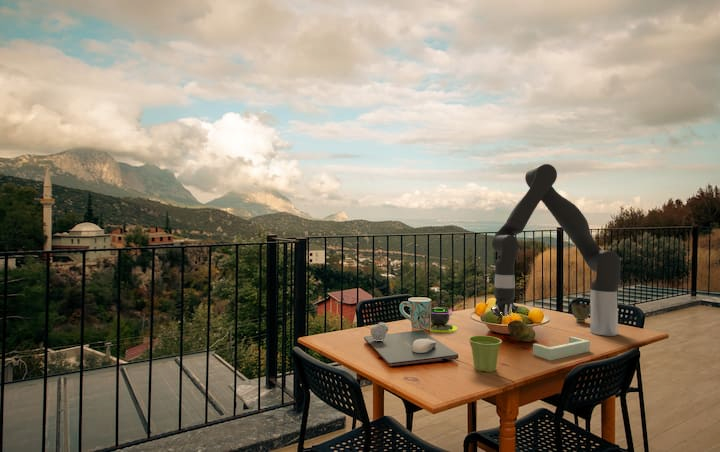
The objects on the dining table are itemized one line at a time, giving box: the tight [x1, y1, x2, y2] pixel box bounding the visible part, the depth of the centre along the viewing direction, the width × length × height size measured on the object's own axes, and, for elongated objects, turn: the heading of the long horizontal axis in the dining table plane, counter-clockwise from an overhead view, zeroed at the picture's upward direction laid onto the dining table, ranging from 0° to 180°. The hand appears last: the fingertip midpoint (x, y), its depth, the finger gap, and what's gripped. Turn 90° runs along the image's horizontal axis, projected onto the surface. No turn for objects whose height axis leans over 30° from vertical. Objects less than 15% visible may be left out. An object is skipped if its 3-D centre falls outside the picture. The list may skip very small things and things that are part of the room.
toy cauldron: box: [429, 301, 458, 333], centre depth 170 cm, size 15×15×11 cm
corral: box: [532, 336, 591, 361], centre depth 136 cm, size 20×6×4 cm, turn 118°
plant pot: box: [468, 335, 503, 373], centre depth 121 cm, size 9×9×9 cm
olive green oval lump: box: [508, 319, 536, 343], centre depth 150 cm, size 8×13×8 cm, turn 110°
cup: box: [570, 302, 590, 324], centre depth 181 cm, size 8×7×8 cm
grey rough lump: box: [369, 321, 389, 340], centre depth 149 cm, size 6×7×7 cm
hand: (504, 330), depth 158 cm, fingers closed
